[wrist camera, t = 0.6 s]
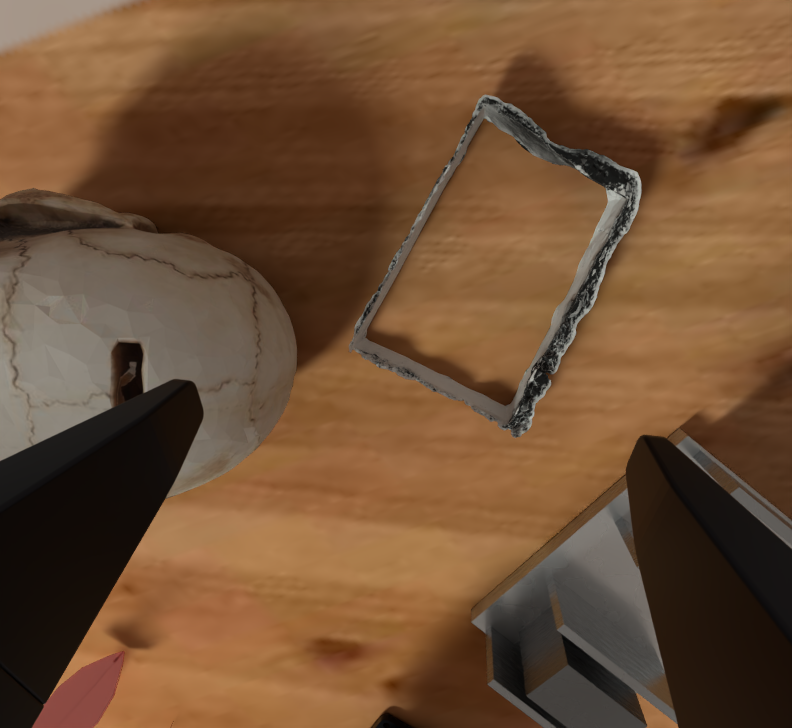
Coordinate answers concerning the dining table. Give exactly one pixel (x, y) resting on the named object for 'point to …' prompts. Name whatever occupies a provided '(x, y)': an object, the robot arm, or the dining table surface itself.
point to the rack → (591, 615)
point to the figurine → (83, 696)
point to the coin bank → (133, 329)
